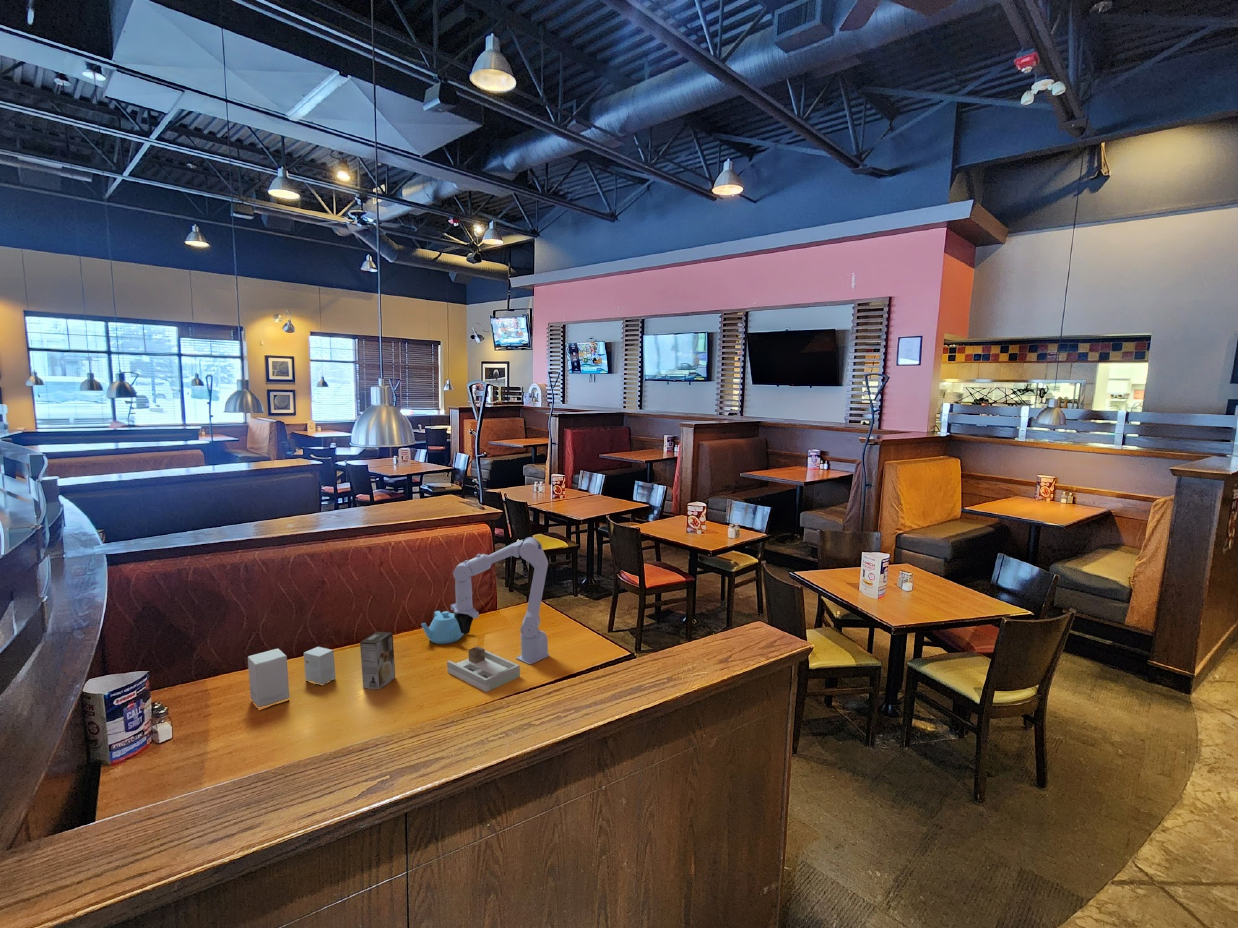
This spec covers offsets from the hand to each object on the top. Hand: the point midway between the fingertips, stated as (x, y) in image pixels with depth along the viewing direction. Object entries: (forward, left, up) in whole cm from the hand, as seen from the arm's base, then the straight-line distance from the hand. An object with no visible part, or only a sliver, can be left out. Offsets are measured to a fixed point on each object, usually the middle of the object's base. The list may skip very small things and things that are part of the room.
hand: (465, 632), depth 209 cm
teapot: (-7, -24, -11) cm, 27 cm away
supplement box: (+57, -23, -11) cm, 62 cm away
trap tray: (+3, +14, -10) cm, 18 cm away
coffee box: (+29, -8, -11) cm, 32 cm away
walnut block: (0, +7, -8) cm, 11 cm away
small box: (+41, -25, -11) cm, 49 cm away
